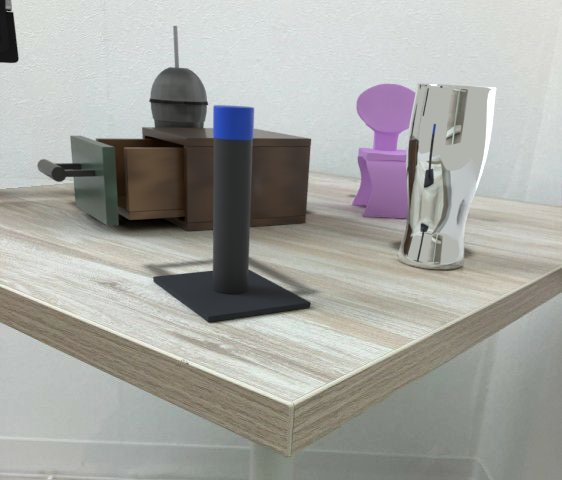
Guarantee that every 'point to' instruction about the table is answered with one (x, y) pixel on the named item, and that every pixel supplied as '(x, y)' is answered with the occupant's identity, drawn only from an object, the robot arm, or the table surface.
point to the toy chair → (384, 151)
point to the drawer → (124, 177)
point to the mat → (229, 296)
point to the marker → (232, 197)
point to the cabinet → (264, 180)
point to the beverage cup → (178, 96)
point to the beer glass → (444, 170)
